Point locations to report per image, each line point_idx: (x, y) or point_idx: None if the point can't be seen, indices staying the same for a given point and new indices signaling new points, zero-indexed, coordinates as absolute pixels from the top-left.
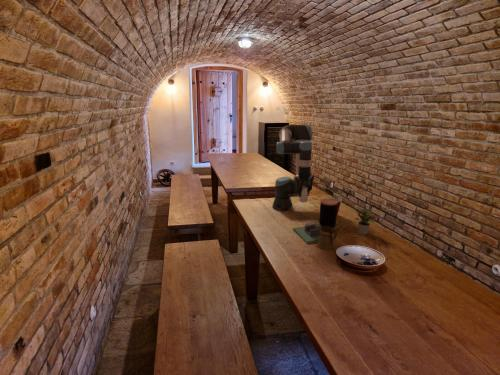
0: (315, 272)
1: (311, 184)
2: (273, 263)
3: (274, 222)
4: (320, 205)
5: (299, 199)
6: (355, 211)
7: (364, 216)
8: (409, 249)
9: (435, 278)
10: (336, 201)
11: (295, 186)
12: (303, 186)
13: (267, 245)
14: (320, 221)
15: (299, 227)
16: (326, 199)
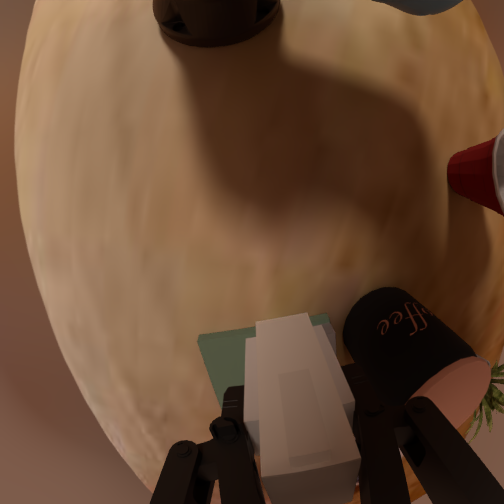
0: (219, 499)
1: (439, 492)
2: (133, 469)
3: (117, 224)
4: (390, 400)
5: (246, 352)
6: (476, 419)
7: (481, 412)
8: (463, 425)
9: (408, 486)
10: (478, 403)
11: (152, 496)
12: (314, 488)
13: (104, 413)
14: (352, 352)
15: (233, 339)
16: (462, 377)
